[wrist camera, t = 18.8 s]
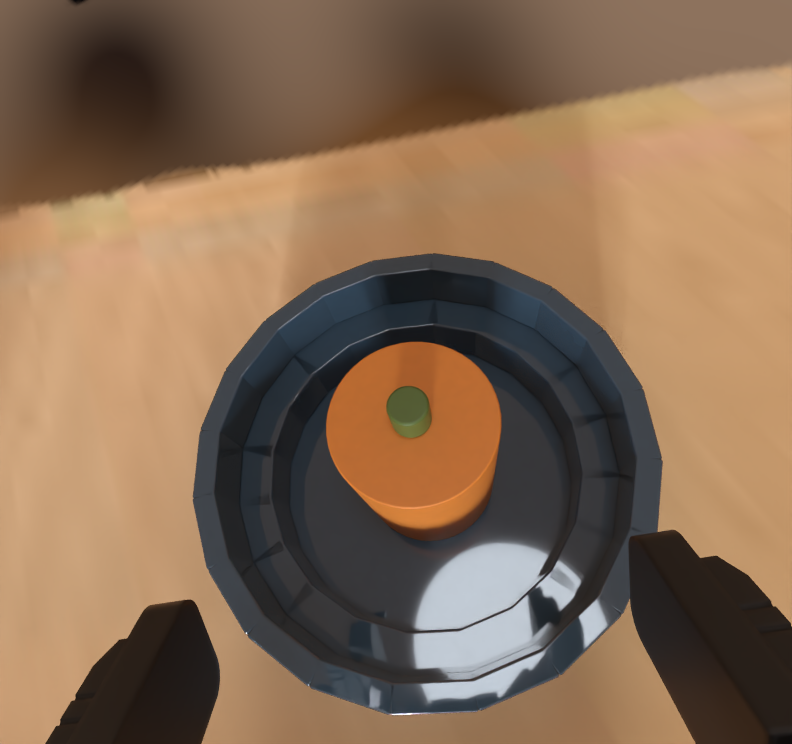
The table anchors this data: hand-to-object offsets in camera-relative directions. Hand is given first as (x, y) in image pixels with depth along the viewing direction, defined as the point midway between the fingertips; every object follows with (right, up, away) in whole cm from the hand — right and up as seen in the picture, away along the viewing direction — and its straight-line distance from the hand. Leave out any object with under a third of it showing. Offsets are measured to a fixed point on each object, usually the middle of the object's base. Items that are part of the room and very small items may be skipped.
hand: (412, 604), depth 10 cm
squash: (+1, 0, +12) cm, 12 cm away
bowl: (+1, 0, +13) cm, 13 cm away
